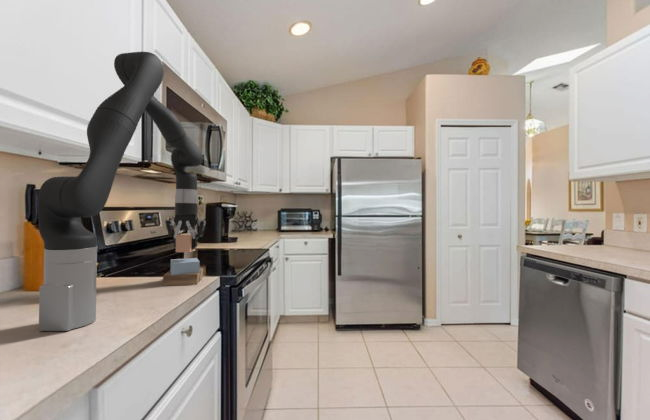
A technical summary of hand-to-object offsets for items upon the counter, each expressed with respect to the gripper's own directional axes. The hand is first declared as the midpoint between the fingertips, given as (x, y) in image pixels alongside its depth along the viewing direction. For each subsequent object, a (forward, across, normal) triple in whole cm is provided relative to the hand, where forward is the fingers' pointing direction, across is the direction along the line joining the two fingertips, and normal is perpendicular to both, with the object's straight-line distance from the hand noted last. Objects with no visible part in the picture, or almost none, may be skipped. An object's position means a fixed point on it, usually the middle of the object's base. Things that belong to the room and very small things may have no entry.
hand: (185, 248), depth 111 cm
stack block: (+1, 0, 0) cm, 1 cm away
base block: (+12, 0, 0) cm, 12 cm away
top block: (+8, 0, 0) cm, 8 cm away
